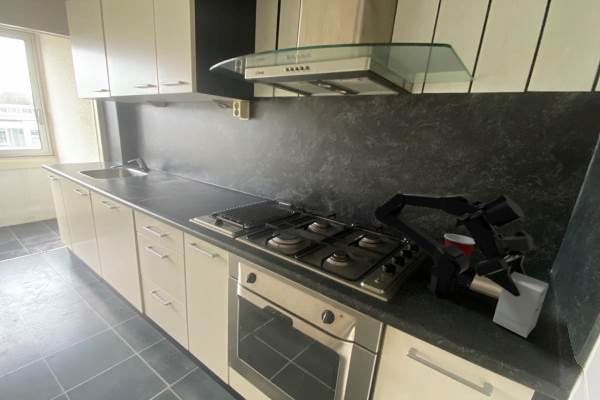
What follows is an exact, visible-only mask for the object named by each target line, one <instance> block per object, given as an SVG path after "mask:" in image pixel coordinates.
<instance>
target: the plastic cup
mask: <svg viewBox="0 0 600 400" xmlns="http://www.w3.org/2000/svg"><path fill="white" fill-rule="evenodd" d="M443 238H444V243H445V246H448V245H450V244H454V245H455V246H456V247H457V248H458V249H460V250H462V251H465V253H464V254H465V255H466V256H467V257H468V258H469V259H470V257H471V254H472V252H473V251H474V248H475V247H474V246H473V244H475V242H474V241H473V240H474V239H472V238H471V237H469V236H467V235H466V236H465V235H461V234H454V233H445V234H444V235H443Z"/></svg>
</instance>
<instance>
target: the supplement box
mask: <svg viewBox="0 0 600 400" xmlns="http://www.w3.org/2000/svg"><path fill="white" fill-rule="evenodd" d="M510 276H511V277H512V279H513V281H514V283H515V285H516V287H517V289H518V291H519V293H520V296H517V297H515V296H514V295H512V294H511V293H509V292H508V291H507V290H505V289H504V288H502V290H501V294H500V297H499V299H498V300H497V301H498V302H497V304H496V308H495V313H494V316H493V320H492V322H494V323H496V324H498V325H499V326H501V327H503V328H505V329H507V330H509V331H512V332H513V333H515V334H517V335H519V336H521V337H524V338H525V339H526V338H528V336H529V334H530V333H531V332H532V331H533V329H534V328H535V327H536V325H537V322H538V319H539V317H540V313H541V309H542V307H543V304H544V302H545V299H546V298H545V297H546V295H547V291H548V288H549V285H550V284H549V283H547V282H545V281H542V280H540V279H536V278H533V277H531V276H528V275H527V274H526V275H523V274H520V273H517V272H513V273H512V274H511V275H510Z"/></svg>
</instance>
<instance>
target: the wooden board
mask: <svg viewBox="0 0 600 400" xmlns="http://www.w3.org/2000/svg"><path fill="white" fill-rule="evenodd" d="M469 290H471V291H474V292H477V293H480V294H482V295H485V296H489V297H490V298H491V297H492V298H494V299H497V300H499V297H500V294H501V290H502V287H501V286H499V285H498V284H496V283H495V282H493V281H491V280H490V279H488V278H485V277H484V276H481V277H479V276H478V274H477V273H476V272H475V276H474V277H473V280H472V282H471V284H470V286H469Z"/></svg>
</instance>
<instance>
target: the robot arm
mask: <svg viewBox="0 0 600 400" xmlns="http://www.w3.org/2000/svg"><path fill="white" fill-rule="evenodd" d="M406 206H414V207H420V208H428V209H434V210H435V209H436V210H439V211H441V212H443V213H445V214H449V215H453V216H456V217H458V218H456V221H455V225H454V228H455V229H458V228H461V227H463V228H464V229H465V230H466V232H467V234H468V235H469V236H470V238H472V239H474V240H473V241H474V242H475V244H473V246H474V248H475V249H476V248H478V249H479V251H480V252H481V254H482V255H483V257H482V258H481V259H482V261H480V262H479V263H477V264H475V266H474V271H475V274H476V273H477V274H478V276H479V277H481V276H484V277H485V278H488V279H490V280H491V281H493V282H495V283H496V284H498V285H499V286H501V287H502V288H504V289H505V290H507V291H508V292H509V293H511V294H512V295H514V296H515V297H517V296H520V293H519V291H518V289H517V287H516V285H515V283H514V281H513V279H512V277H511V276H510V275H511V274H512V273H513V272H517V273H520V274H523V275H526V276H527V273H526V271H525V268H524V265H523V263H524V259H525V257H526V255H525V254H526V253H527V252H530V251H532V249H535V247H534V243H533V241H534V238H533V237H532V235H531V234H529V233H527V232H526V231H525V230H517V231H516V232H515V233H514V235H510V236H505V235H504V234H503V233H502V232H496V230H495V228H494V227H495V226H496V227H497V228H503V227H505V226H507V225H510V224H512V223H514V222H516V221H518V220H521V219H523V218H524V217H525V214H524V212H523V210H522V208H521V207H520V205H519V203H516V202H515V201H513V199H511V198H509V197H508V195H507V194H502V195H500V196H499V197H497V198H496V199H494V200H493V201H490V202H489V203H487V202H484V201H481V200H477V199H476V197H474V195H472V194H470V193H459V194H458V193H457V194H456V193H455V194H447V195H437V194H425V193H415V192H414V193H413V192H408V191H403V192H397V193H396V194H395V195H394V196H393V197H392V198H391V199H389V200H387V201H386V202H385V203H383V204H382V205H380V206H378V207H377V208H376V209H375V212H374V215H375V219H376V221H378V222H379V223H381V224H383V225H384V226H386V227H389V228H392V229H393V228H394V229H396V230H397V231H398V232H399V233H401V234H402V235H403V236H405V238H407V239H409V240H410V241H411V242H413V243H414V244H415V245H417V246H418V247H419V248H421V249H422V251H425V252H426V253H427V254H428V255H430V256H431V258H432V261H434V263H435V265H433V266H431V267H430V269H429V270H430V274H431V280H430V283H428V284H427V285H426V286H427V288H428V289H429V291H431V293H432V294H433V295H434V296H435V297H436V298H443V299H444V298H445V299H458V295H457V294H456V293H457V290H458V284H459V276H458V275H460V274H462V273H463V272H465V271H466V270H468V269H469V267H470V263H471V262H470V257H469V258H468V257H467V256H466V255H465V254H464V253H465V251H462V250H460V249H458V248H457V247H456V246H455V245H454V244H450V245H448V246H446V244H445V245H444V244H443V243H441V242H439V241H438V240H436V239H435V238H433V237H432V236H431V235H429V234H428V233H426V232H425V231H424V230H422V229H421V228H419V227H418V226H417V225H415V224H414V223H412V222H411V221H410V220H408V219H407V218H406V217H405V215H404V213H403V210H404V209H405V208H406ZM480 212H481V213H480ZM476 213H480V214H478V215H476ZM468 214H470V215H468ZM465 215H468V216H466V217H463V216H465ZM461 216H462V217H463V218H462V217H461ZM519 255H520V256H519Z"/></svg>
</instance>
